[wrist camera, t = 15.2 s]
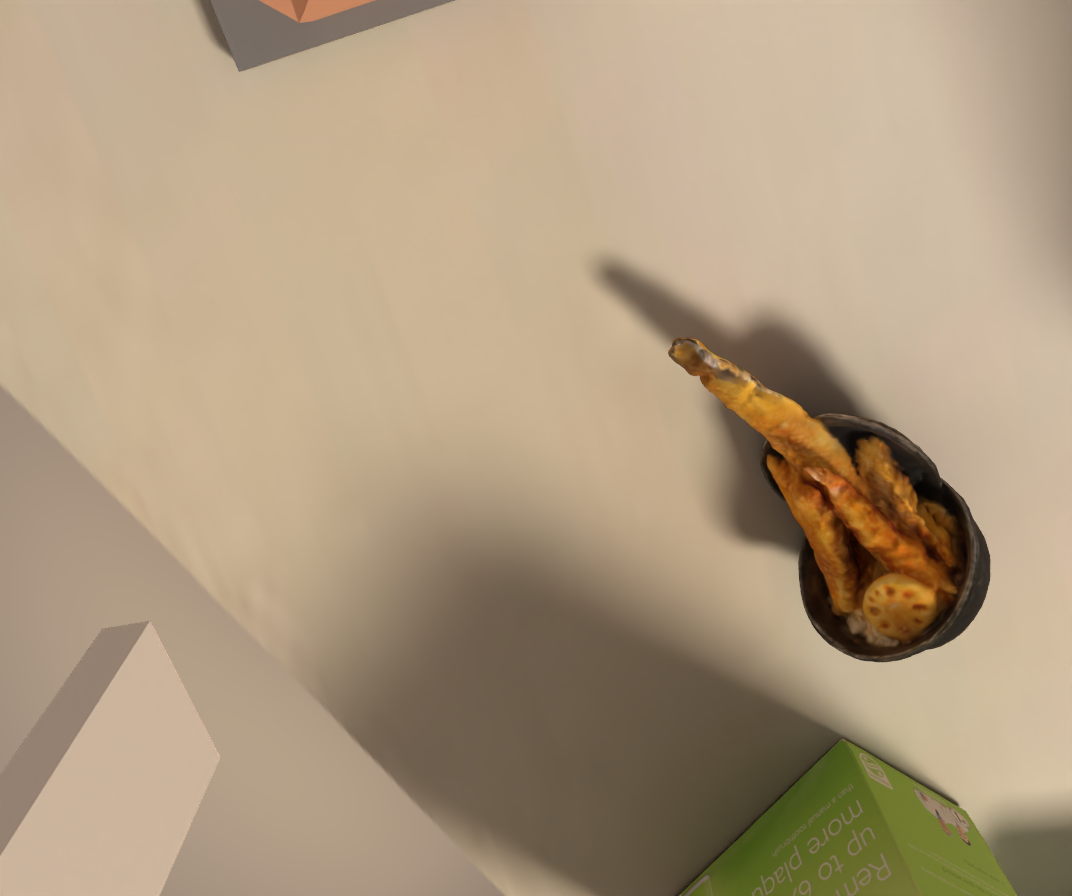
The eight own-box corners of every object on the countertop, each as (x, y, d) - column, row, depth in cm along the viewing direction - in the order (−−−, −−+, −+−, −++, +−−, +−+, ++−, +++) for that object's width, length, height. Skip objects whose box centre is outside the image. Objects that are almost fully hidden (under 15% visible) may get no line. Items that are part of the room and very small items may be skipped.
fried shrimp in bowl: (902, 710, 45) (618, 640, 35) (838, 512, 51) (583, 407, 42) (1089, 635, 39) (811, 528, 30) (991, 423, 46) (737, 278, 36)
